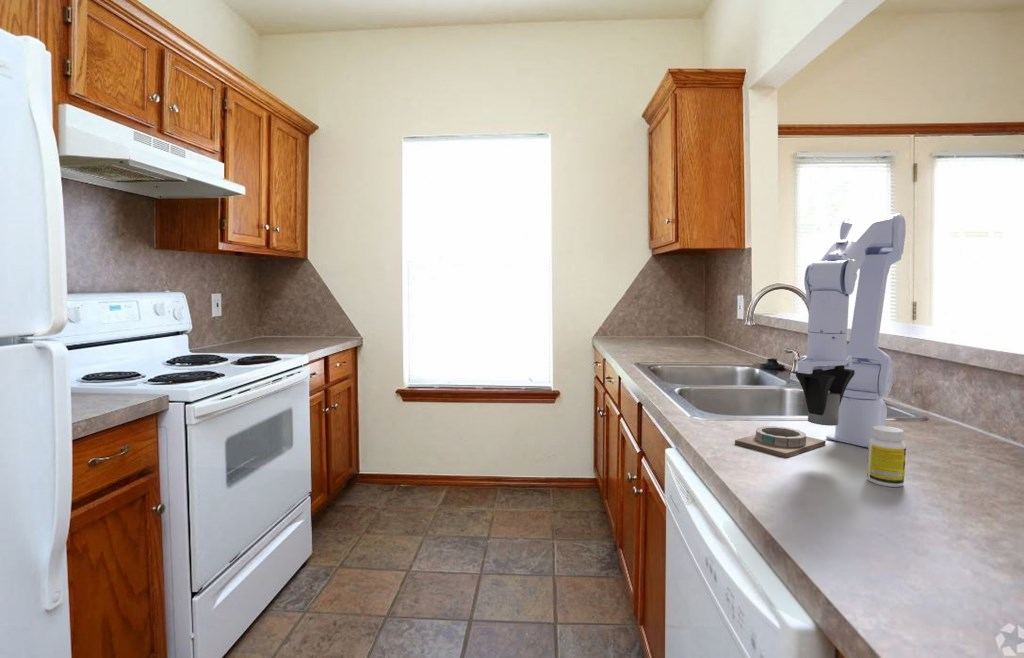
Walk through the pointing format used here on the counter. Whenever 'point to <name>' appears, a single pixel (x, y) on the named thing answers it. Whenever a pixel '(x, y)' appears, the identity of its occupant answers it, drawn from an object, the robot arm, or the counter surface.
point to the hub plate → (779, 448)
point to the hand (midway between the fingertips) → (823, 412)
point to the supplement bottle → (886, 456)
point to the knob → (828, 411)
